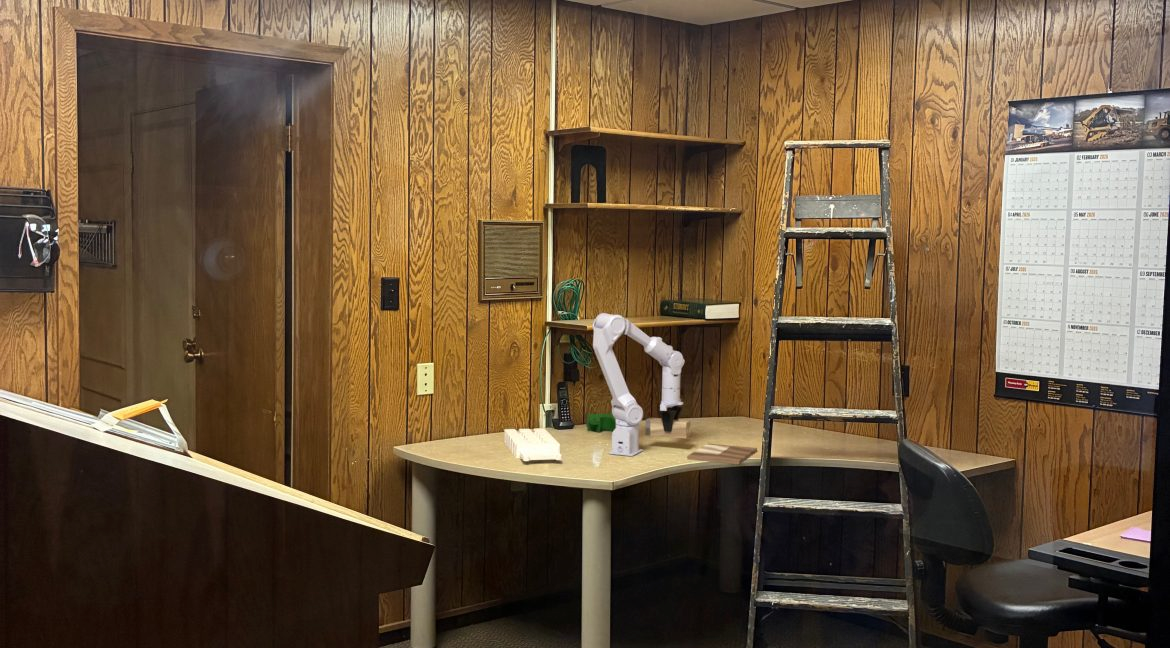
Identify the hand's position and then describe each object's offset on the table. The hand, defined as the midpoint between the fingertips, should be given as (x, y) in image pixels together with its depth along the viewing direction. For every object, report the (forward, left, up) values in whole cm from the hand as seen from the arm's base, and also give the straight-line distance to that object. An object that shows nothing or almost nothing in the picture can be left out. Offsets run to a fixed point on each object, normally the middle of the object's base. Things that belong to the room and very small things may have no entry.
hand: (670, 430), depth 325 cm
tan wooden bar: (0, 0, -2) cm, 2 cm away
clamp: (+18, +30, -6) cm, 36 cm away
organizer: (-26, +35, -7) cm, 45 cm away
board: (-2, -18, -6) cm, 19 cm away
